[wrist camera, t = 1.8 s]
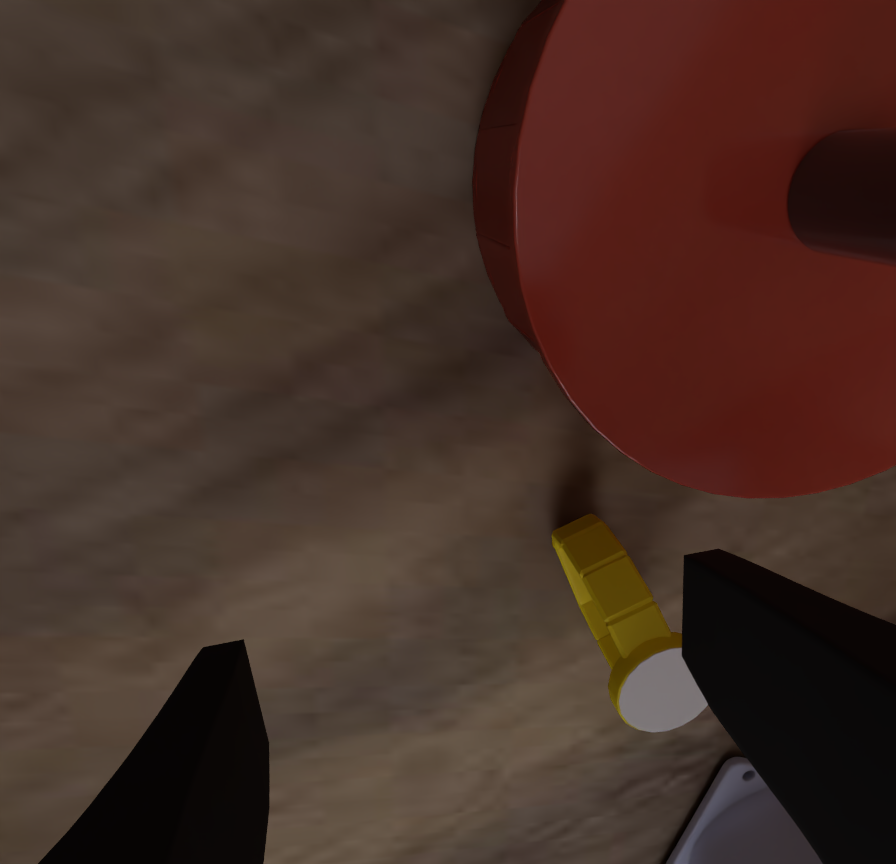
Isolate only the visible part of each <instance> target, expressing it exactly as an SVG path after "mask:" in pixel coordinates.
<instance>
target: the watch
mask: <svg viewBox="0 0 896 864" xmlns="http://www.w3.org/2000/svg"><path fill="white" fill-rule="evenodd" d="M552 545H553V547H554V548H555V550H556V552H557V555H558V557H559V559H560V562H561V564H562V567H563V569H564V571H565V574H566V576H567V578H568V581H569V583H570V586H571V588H572V590H573V593H574V595H575V598H576V600H577V602H578V605H579V607H580V609H581V611H582V613H583V615H584V617H585V619H586V621H587V623H588V625H589V627H590V629H591V632H592V634H593V636H594V638H595V639H596V640H598V641H597V643H598V645H599V647H600V649H601V651H602V653H603V655H604V656H605V658H606V660H607V662H608V664H609V666H610V668H611V669H612V671H611V674H610V679H609V684H608V689H609V694H610V698H611V701H612V703H613V704H614V706H615V708H616V710H617V711H618V713H619V715H620V716H621V718H622V719H623V720H624V722H625V723H626V724H628V725H630V726H631V727H633V728H635V729H637V730H640V731H646V732H662V731H669V730H672V729H674V728H677V727H680V726H683V725H684V724H686V723H687V722H689V721H691V720H692V719H694V718H695V717H697V716H698V715H699V714H700V713H701V712H702V711H703V710H704V709H705V708H706V707H707V705H708V703H707V701H706V700H705V698H704V696H703V694H702V693H701V691H700V689H699V687H698V686H697V684H696V682H695V680H694V678H693V676H692V674H691V673H690V671H689V669H688V667H687V665H686V663H685V661H684V659H683V658H682V634H681V633H677V632H670V630H669V627H668V625H667V623H666V621H665V619H664V617H663V615H662V613H661V611H660V609H659V607H658V605H657V603H656V602H654V601H652V600H653V596H652V594H651V592H650V591H649V589H648V587H647V585H646V584H645V582H644V580H643V579H642V577H641V575H640V574H639V572H638V570H637V568H636V567H635V565H634V563H633V562H632V560H631V558H630V556H628V555H627V552H626V550H625V549H624V548H623V546H622V545H621V544H620V542H619V541H618V539H617V538H616V537H615V535H614V534H613V533H612V531H611V530H610V529H609V527H608V526H607V525H606V524H605V522H603V521H602V520H600V519H599V518H598V517H596V516H595V515H593V514H588V515H585V516H583V517H581V518H579V519H577V520H575V521H573V522H571V523H569V524H567V525H565V526H562V527H560V528H558V529H556V530H554V531H553V533H552Z"/></svg>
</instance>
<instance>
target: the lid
mask: <svg viewBox="0 0 896 864" xmlns="http://www.w3.org/2000/svg"><path fill="white" fill-rule="evenodd" d="M508 233H509V245H510V251H511V258H512V265H513V272H514V278H515V284H516V288H517V291H518V295H519V298H520V302H521V306H522V309H523V313H524V316H525V320H526V323H527V326H528V328H529V331H530V333H531V335H532V337H533V340H534V342H535V344H536V347H537V349H538V351H539V353H540V356H541V358H542V360H543V362H544V364H545V366H546V367H547V369H548V371H549V372H550V374H551V375H552V377H553V379H554V380H555V382H556V383H557V385H558V387H559V388H560V390H561V392H562V393H563V395H564V396H565V397H566V398H567V400H568V401H569V402H570V403H571V404H572V405H573V407H574V408H575V409H576V410H577V411H578V413H579V414H580V415H581V416H582V417H583V419H584V420H585V421H586V422H587V423H588V424H589V425H590V426H591V427H592V428H593V429H594V430H595V431H596V432H598V433H599V434H600V435H601V436H602V437H603V438H604V439H606V440H607V441H608V442H609V443H610V444H611V445H612V446H614V447H615V448H616V449H617V450H618V451H619V452H620V453H622V454H624V455H625V456H627V457H628V458H630V459H631V460H633V461H635V462H636V463H638V464H639V465H641V466H642V467H644V468H645V469H647V470H649V471H650V472H653V473H655V474H657V475H659V476H662V477H664V478H666V479H668V480H671V481H673V482H675V483H678V484H680V485H683V486H686V487H690V488H694V489H697V490H701V491H705V492H708V493H712V494H718V495H726V496H734V497H741V498H786V497H793V496H800V495H807V494H815V493H819V492H823V491H827V490H831V489H835V488H838V487H842V486H846V485H850V484H853V483H855V482H858V481H860V480H863V479H865V478H868V477H871V476H873V475H876V474H878V473H881V472H883V471H886V470H888V469H890V468H891V467H893V466H895V465H896V0H560V1H559V3H558V5H557V7H556V9H555V11H554V13H553V15H552V17H551V19H550V21H549V24H548V26H547V28H546V30H545V32H544V34H543V36H542V38H541V41H540V44H539V47H538V50H537V53H536V55H535V58H534V61H533V64H532V67H531V70H530V73H529V76H528V79H527V82H526V84H525V87H524V91H523V95H522V100H521V104H520V109H519V113H518V118H517V123H516V127H515V132H514V136H513V141H512V151H511V161H510V171H509V181H508Z"/></svg>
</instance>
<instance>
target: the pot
mask: <svg viewBox="0 0 896 864" xmlns="http://www.w3.org/2000/svg"><path fill="white" fill-rule="evenodd" d="M559 1H560V0H542V1H541V2H540V3H539V4H538V6H537V7H536V8H535V9H534V10H533V12H532V13H531V14H530V15H529V16H528V17H527V18H526V19H525V20H524V21H523V22H522V24H521V27H520V28H519V29H518V31H517V33H516V36H515V38H514V40H513V42H512V43H511V45H510V46H509V48H508V50H507V52H506V55H505V57H504V59H503V61H502V63H501V65H500V67H499V69H498V72H497V74H496V76H495V78H494V80H493V83H492V86H491V89H490V92H489V95H488V98H487V101H486V104H485V107H484V110H483V113H482V117H481V122H480V126H479V132H478V137H477V142H476V147H475V157H474V169H473V181H472V184H473V210H474V219H475V226H476V232H477V233H476V236H477V239H478V244H479V248H480V251H481V255H482V258H483V262H484V265H485V268H486V272H487V275H488V277H489V279H490V282H491V284H492V286H493V288H494V291H495V293H496V295H497V297H498V299H499V302H500V303H501V305H502V307H503V309H504V312H505V315H506V317H507V319H508V321H509V322H510V323H511V324H512V325H513V326H514V327H515V328H516V329H517V331H518V332H519V333H520V334H521V335H522V336H523V337H524V338H525V339H526V340H527V341H528V342H529V344H530V345H531V346H532V347H533V348H534V349H535V350H536V351H538V349H537V347H536V344H535V342H534V340H533V337H532V335H531V333H530V331H529V328H528V326H527V323H526V320H525V316H524V313H523V309H522V306H521V302H520V298H519V295H518V291H517V288H516V284H515V278H514V272H513V265H512V258H511V251H510V245H509V233H508V181H509V171H510V161H511V151H512V141H513V136H514V132H515V127H516V123H517V118H518V113H519V109H520V104H521V100H522V95H523V91H524V87H525V84H526V82H527V79H528V76H529V73H530V70H531V67H532V64H533V61H534V58H535V55H536V53H537V50H538V47H539V44H540V41H541V38H542V36H543V34H544V32H545V30H546V28H547V26H548V24H549V21H550V19H551V17H552V15H553V13H554V11H555V9H556V7H557V5H558V3H559ZM538 352H539V351H538Z"/></svg>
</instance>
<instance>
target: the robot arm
mask: <svg viewBox="0 0 896 864" xmlns="http://www.w3.org/2000/svg"><path fill="white" fill-rule="evenodd" d="M682 658H683V659H684V661H685V663H686V665H687V667H688V669H689V671H690V673H691V674H692V676H693V678H694V680H695V682H696V684H697V686H698V687H699V689H700V691H701V693H702V694H703V696H704V698H705V700H706V701H707V703H708V705H709V707H710V708H711V710H712V711H713V713H714V714H715V715H716V717H717V718H718V720H719V721H720V722H721V724H722V725H723V727H724V728H725V729H726V731H727V732H728V733H729V735H730V736H731V738H732V739H733V740H734V742H735V743H736V744H737V746H738V747H739V748H740V750H741V751H742V753H743V754H744V755H745V757H746V758H743V757H732V758H730V759H728V760H727V761H725V763H724V764H723V766H722V767H721V769H720V771H719V772H718V774H717V776H716V778H715V779H714V781H713V783H712V784H711V786H710V788H709V790H708V791H707V793H706V795H705V797H704V798H703V800H702V802H701V803H700V805H699V807H698V809H697V810H696V812H695V814H694V816H693V817H692V819H691V821H690V822H689V824H688V826H687V828H686V829H685V831H684V833H683V835H682V836H681V838H680V840H679V841H678V843H677V845H676V847H675V848H674V850H673V852H672V853H671V855H670V857H669V859H668V860H667V862H666V864H896V625H895V624H892V623H890V622H887V621H885V620H882V619H880V618H877V617H874V616H872V615H869V614H867V613H865V612H862V611H860V610H858V609H855V608H853V607H850V606H848V605H846V604H843V603H841V602H839V601H837V600H834V599H832V598H830V597H827V596H825V595H823V594H821V593H818V592H816V591H814V590H812V589H809V588H807V587H805V586H803V585H801V584H798V583H796V582H794V581H792V580H790V579H787V578H785V577H783V576H781V575H779V574H777V573H774V572H772V571H770V570H768V569H766V568H763V567H761V566H759V565H757V564H754V563H752V562H750V561H748V560H745V559H743V558H741V557H738V556H736V555H733V554H731V553H728V552H726V551H723V550H720V549H715V550H709V551H704V552H699V553H694V554H688V555H684V576H683V619H682ZM268 815H269V741H268V737H267V733H266V729H265V725H264V721H263V716H262V712H261V708H260V704H259V700H258V696H257V692H256V688H255V684H254V680H253V676H252V672H251V667H250V663H249V659H248V655H247V651H246V647H245V643H244V640H239V641H233V642H228V643H223V644H218V645H212V646H207V647H203V648H202V649H201V651H200V652H199V653H198V655H197V656H196V657H195V659H194V660H193V662H192V663H191V665H190V666H189V668H188V670H187V671H186V673H185V674H184V676H183V677H182V679H181V680H180V682H179V683H178V685H177V686H176V688H175V689H174V691H173V692H172V694H171V695H170V697H169V698H168V700H167V701H166V703H165V704H164V706H163V707H162V709H161V710H160V712H159V713H158V715H157V716H156V718H155V719H154V720H153V722H152V723H151V725H150V726H149V727H148V729H147V730H146V732H145V733H144V734H143V736H142V737H141V739H140V740H139V742H138V743H137V744H136V746H135V747H134V749H133V750H132V751H131V753H130V754H129V755H128V757H127V758H126V760H125V761H124V762H123V763H122V765H121V766H120V767H119V769H118V770H117V771H116V772H115V774H114V775H113V776H112V778H111V779H110V780H109V781H108V783H107V784H106V785H105V786H104V788H103V789H102V790H101V792H100V793H99V794H98V795H97V797H96V798H95V799H94V800H93V802H92V803H91V804H90V806H89V807H88V808H87V809H86V810H85V812H84V813H83V814H82V815H81V816H80V818H79V819H78V820H77V821H76V822H75V823H74V825H73V826H72V827H71V828H70V829H69V830H68V832H67V833H66V834H65V835H64V836H63V837H62V838H61V839H60V840H59V842H58V843H57V844H56V845H55V846H54V847H53V848H52V849H51V850H50V851H49V852H48V853H47V855H46V856H45V857H44V858H43V859H42V860H41V861H40V862H39V863H38V864H263V862H264V853H265V844H266V834H267V825H268Z"/></svg>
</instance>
